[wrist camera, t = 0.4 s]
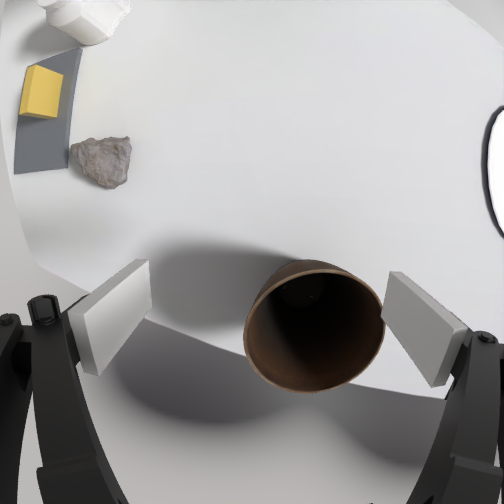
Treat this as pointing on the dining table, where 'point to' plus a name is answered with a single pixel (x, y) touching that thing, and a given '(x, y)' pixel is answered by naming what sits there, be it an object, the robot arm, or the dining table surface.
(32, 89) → the yellow block
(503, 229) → the plate
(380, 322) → the plant pot
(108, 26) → the jar
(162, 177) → the dining table surface
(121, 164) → the stone
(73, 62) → the slate board
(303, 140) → the dining table surface
